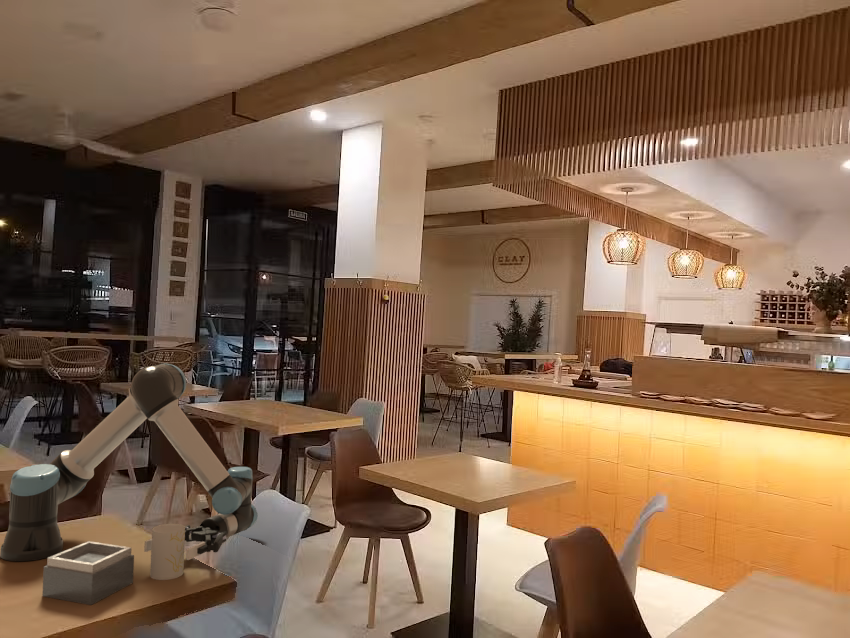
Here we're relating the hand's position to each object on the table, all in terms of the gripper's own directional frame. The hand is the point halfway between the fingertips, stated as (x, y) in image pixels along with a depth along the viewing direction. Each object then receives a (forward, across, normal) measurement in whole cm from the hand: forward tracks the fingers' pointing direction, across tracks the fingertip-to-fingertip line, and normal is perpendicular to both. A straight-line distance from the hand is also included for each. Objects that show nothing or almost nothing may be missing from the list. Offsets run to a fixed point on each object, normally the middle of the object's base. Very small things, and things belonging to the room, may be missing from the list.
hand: (166, 550), depth 171 cm
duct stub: (+15, +10, -6) cm, 19 cm away
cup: (-1, 0, -7) cm, 7 cm away
